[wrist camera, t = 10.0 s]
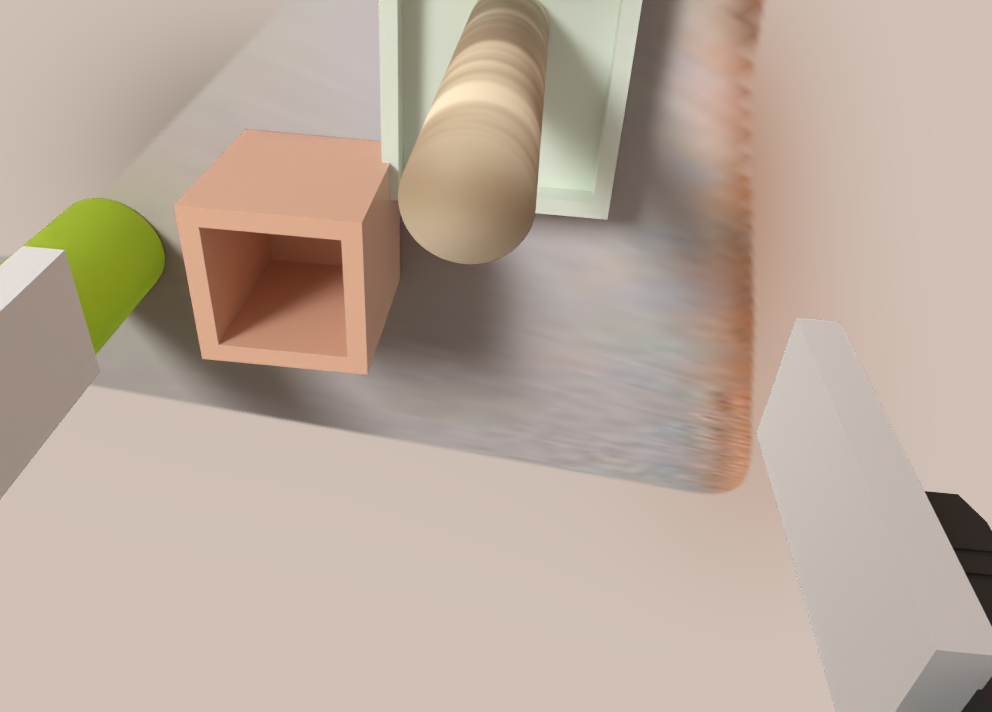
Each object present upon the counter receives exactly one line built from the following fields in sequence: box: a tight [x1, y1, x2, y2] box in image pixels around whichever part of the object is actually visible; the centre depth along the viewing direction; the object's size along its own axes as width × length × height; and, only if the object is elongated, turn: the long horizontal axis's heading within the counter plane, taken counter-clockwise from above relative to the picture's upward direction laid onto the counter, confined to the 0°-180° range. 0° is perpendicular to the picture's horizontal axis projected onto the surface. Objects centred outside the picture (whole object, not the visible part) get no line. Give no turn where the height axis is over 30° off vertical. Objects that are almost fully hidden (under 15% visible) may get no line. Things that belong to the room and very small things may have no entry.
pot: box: [174, 129, 400, 375], centre depth 39 cm, size 8×8×9 cm
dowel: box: [398, 0, 549, 264], centre depth 28 cm, size 4×4×18 cm
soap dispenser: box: [0, 198, 165, 355], centre depth 37 cm, size 6×7×20 cm
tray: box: [379, 0, 643, 220], centre depth 35 cm, size 16×11×3 cm
